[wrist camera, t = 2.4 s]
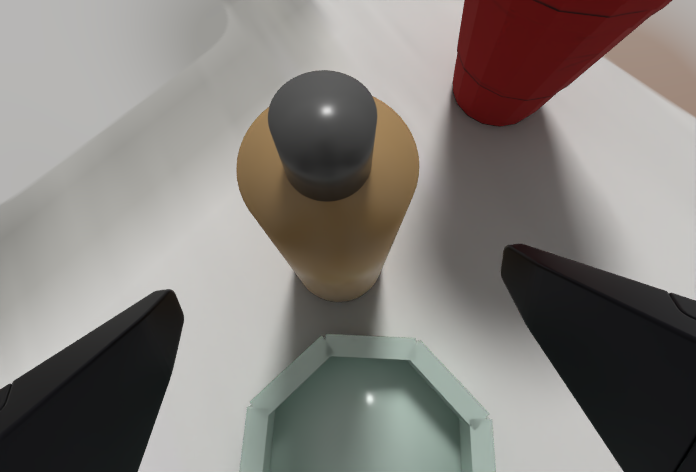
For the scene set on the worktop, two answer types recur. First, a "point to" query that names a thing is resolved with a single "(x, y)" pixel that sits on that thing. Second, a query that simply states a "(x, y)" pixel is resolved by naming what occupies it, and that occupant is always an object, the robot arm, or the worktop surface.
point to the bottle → (329, 180)
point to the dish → (367, 413)
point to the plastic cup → (534, 50)
